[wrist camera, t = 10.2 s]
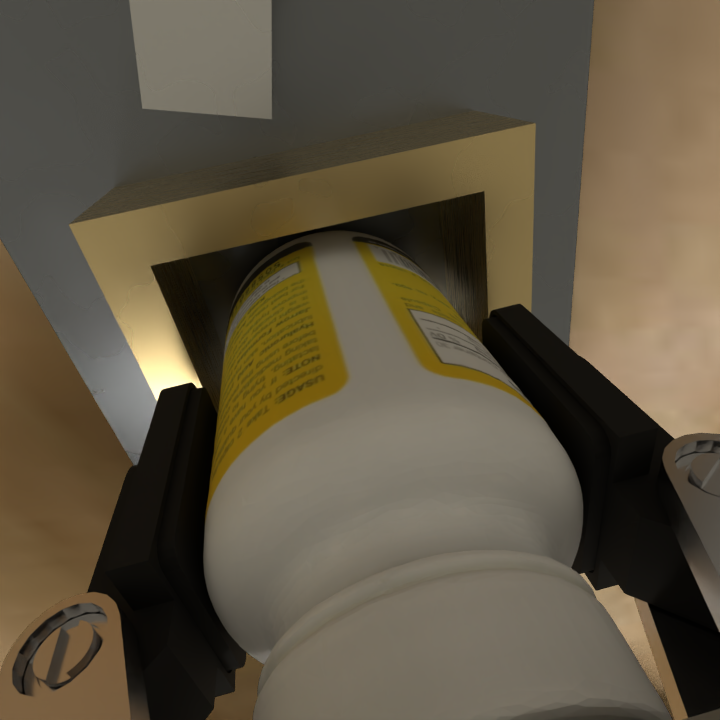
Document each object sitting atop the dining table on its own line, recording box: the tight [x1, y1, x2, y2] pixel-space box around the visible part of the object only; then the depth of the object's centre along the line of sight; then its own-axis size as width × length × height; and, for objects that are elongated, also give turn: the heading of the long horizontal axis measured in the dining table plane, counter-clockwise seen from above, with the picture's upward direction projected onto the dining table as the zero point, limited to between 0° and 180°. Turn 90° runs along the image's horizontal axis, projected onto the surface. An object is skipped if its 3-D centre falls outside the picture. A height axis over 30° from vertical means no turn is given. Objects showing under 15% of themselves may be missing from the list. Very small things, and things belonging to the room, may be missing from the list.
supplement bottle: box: [203, 231, 672, 720], centre depth 9 cm, size 5×5×10 cm
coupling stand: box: [0, 0, 594, 465], centre depth 13 cm, size 22×14×4 cm, turn 10°
